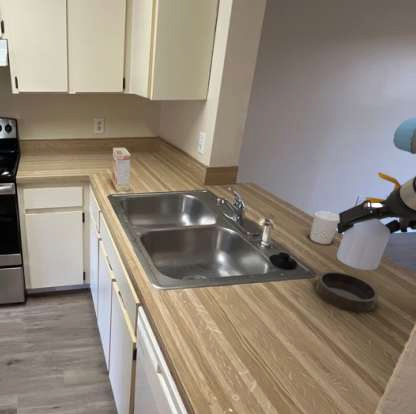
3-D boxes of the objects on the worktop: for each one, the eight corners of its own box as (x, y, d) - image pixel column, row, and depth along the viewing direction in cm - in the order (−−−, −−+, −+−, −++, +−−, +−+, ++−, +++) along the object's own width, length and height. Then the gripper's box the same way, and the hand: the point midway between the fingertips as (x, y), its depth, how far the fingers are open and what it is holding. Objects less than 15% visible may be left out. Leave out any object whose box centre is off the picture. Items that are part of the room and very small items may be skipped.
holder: (366, 287, 97) (370, 278, 96) (380, 317, 86) (385, 306, 84) (312, 276, 102) (315, 267, 101) (319, 303, 91) (323, 293, 90)
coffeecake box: (112, 181, 186) (112, 147, 178) (124, 181, 186) (125, 147, 178) (116, 191, 172) (116, 154, 164) (129, 190, 173) (131, 154, 165)
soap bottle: (335, 249, 95) (362, 167, 85) (374, 258, 91) (408, 173, 81) (336, 264, 88) (366, 176, 78) (380, 275, 84) (417, 183, 74)
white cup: (303, 235, 127) (309, 212, 123) (321, 234, 128) (328, 210, 124) (319, 246, 119) (327, 221, 115) (338, 244, 121) (346, 219, 117)
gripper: (360, 208, 70) (315, 239, 90) (488, 219, 65) (409, 249, 85) (357, 177, 73) (313, 214, 93) (479, 185, 68) (405, 222, 88)
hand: (359, 230), depth 89 cm, fingers closed on soap bottle, 9 cm apart
